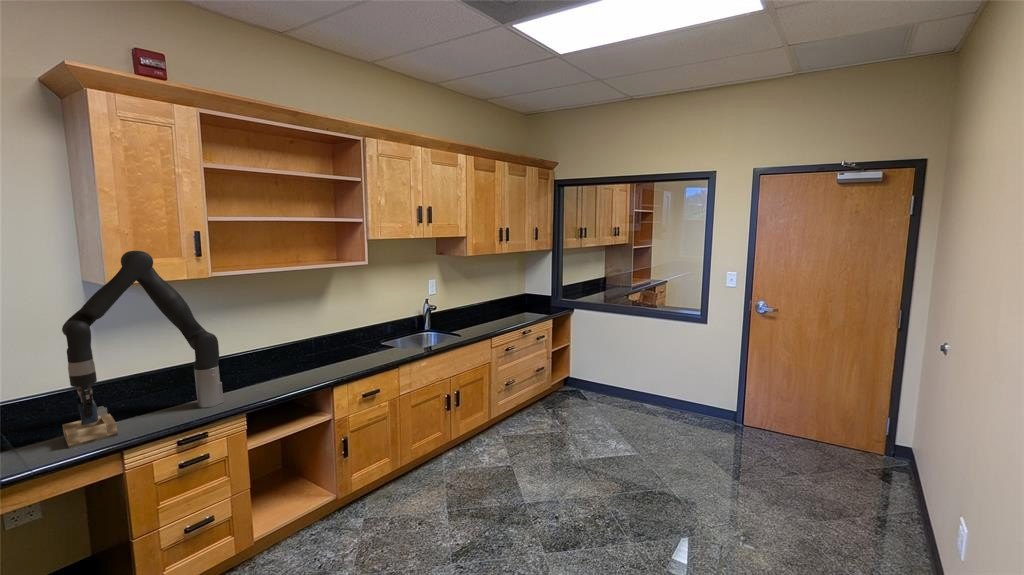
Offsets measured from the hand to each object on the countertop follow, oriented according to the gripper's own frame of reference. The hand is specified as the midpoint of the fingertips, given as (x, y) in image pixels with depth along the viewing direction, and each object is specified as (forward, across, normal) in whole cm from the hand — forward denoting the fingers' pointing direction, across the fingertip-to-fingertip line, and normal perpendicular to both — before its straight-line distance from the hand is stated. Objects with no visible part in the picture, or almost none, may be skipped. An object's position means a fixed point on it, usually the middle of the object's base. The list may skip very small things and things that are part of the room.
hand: (88, 415), depth 182 cm
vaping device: (+3, -1, 0) cm, 3 cm away
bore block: (+8, 0, 0) cm, 8 cm away
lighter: (+9, +18, -4) cm, 20 cm away
